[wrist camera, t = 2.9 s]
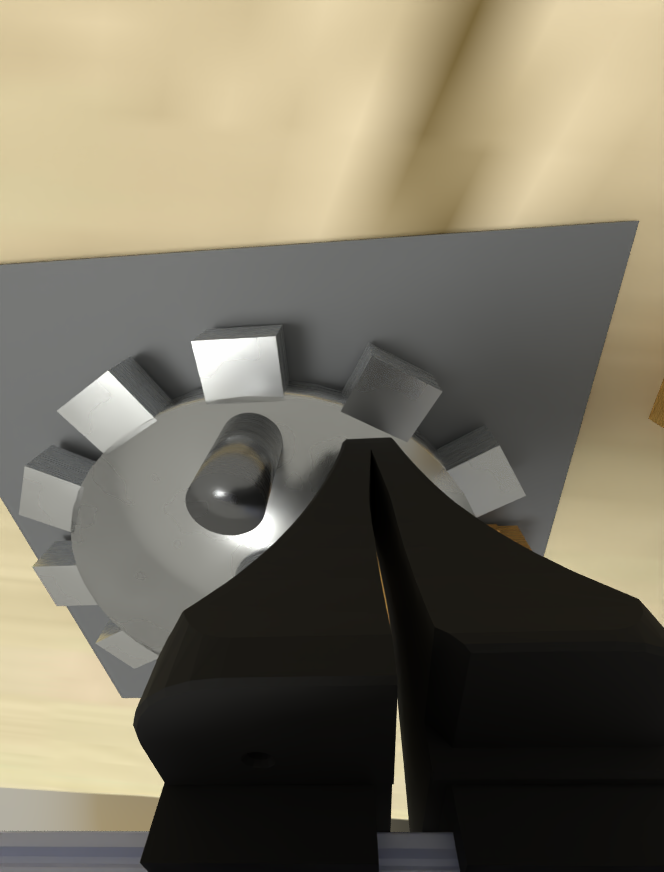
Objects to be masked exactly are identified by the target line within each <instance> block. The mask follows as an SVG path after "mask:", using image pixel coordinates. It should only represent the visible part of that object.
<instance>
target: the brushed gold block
mask: <svg viewBox="0 0 664 872" xmlns="http://www.w3.org/2000/svg"><path fill="white" fill-rule="evenodd" d="M649 419H650V420H652V421H653V422H655V423H657V424H658V425H660V426H661V427H663V428H664V379H663V382H662V384H661V387H660V390H659V392H658V395H657V398H656V400H655V403H654V406H653V408H652V411H651V413H650V416H649Z"/></svg>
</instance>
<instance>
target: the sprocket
mask: <svg viewBox="0 0 664 872" xmlns="http://www.w3.org/2000/svg"><path fill="white" fill-rule="evenodd" d="M191 343H192V347H193V351H194V355H195V359H196V363H197V367H198V372H199V376H200V380H201V384H202V389H198V390H194V391H191V392H189V393H187V394H184V395H182V396H179V397H177V398H174V399H171V398H170V397H169V396H168V395H167V394H166V393H165V392H164V391H163V390H162V389H161V388H160V387H159V385H158V384H157V383H156V382H155V381H154V380H153V379H152V378H151V377H150V376H149V375H148V374H147V373H146V372H145V370H144V369H143V368H142V367H141V366H140V365H139V364H138V363H137V362H136V361H135V360H134V359H133V358H132V357H131V356H130V357H129V358H127V359H126V360H124V361H122V362H121V363H119V364H118V365H116V366H114V367H113V368H111V369H110V370H108V371H107V372H106V373H104V374H103V375H102V376H100V377H99V378H98V379H97V380H95V381H94V382H93V383H92V384H90V385H89V386H88V387H86V388H85V389H84V390H83V391H81V392H80V393H79V394H78V395H76V396H75V397H74V398H72V399H71V400H70V401H69V402H67V403H66V404H65V405H64V406H62V407H61V408H60V409H58V410H57V412H58V413H59V414H60V415H62V416H63V417H64V418H65V419H66V420H67V421H68V422H69V423H70V424H72V425H73V426H74V427H75V428H76V429H77V430H78V431H79V432H80V433H81V434H83V435H84V436H85V437H86V438H87V439H88V440H89V441H90V442H91V443H92V444H94V445H95V446H96V447H97V448H98V449H99V450H100V451H101V452H102V453H103V454H102V455H101V457H100V458H99V459H98V460H97V461H94V460H91V459H89V458H86V457H83V456H81V455H78V454H75V453H73V452H70V451H67V450H65V449H62V448H59V447H57V446H54V445H51V446H50V447H49V448H47V449H46V450H45V451H43V452H42V453H41V454H40V455H38V456H37V457H36V458H34V459H33V460H32V461H30V462H29V463H28V464H27V465H25V467H24V476H23V484H22V492H21V501H20V509H19V515H21V516H24V517H27V518H30V519H33V520H36V521H39V522H42V523H45V524H48V525H51V526H54V527H57V528H60V529H63V530H66V531H69V532H71V541H55V542H54V543H53V544H52V545H51V546H50V547H49V549H48V550H47V551H46V552H45V553H44V554H43V555H42V556H41V558H40V559H39V560H38V561H37V562H36V563H35V564H34V565H33V566H32V567H33V569H34V570H35V572H36V574H37V575H38V577H39V578H40V580H41V582H42V583H43V585H44V586H45V588H46V590H47V591H48V593H49V594H50V596H51V598H52V599H53V601H54V602H55V604H56V606H78V605H99V607H100V608H101V609H102V610H103V611H104V612H105V614H106V615H107V616H108V617H109V618H110V619H109V621H108V622H107V624H106V626H105V628H104V629H103V631H102V633H101V634H100V636H99V638H98V640H97V641H96V643H95V644H97V645H98V646H100V647H101V648H103V649H105V650H106V651H108V652H109V653H111V654H112V655H114V656H115V657H117V658H118V659H120V660H122V661H123V662H125V663H126V664H128V665H129V666H131V667H132V668H134V669H135V668H137V667H140V666H142V665H144V664H147V663H149V662H151V661H153V660H156V659H158V657H159V654H160V652H161V650H162V648H163V646H164V645H165V643H166V641H167V639H168V637H169V635H170V634H171V632H172V630H173V628H174V627H175V625H176V623H177V621H178V619H179V617H180V615H181V613H182V612H183V611H184V610H185V609H187V608H189V607H190V606H192V605H193V604H195V603H196V602H198V601H199V600H201V599H202V598H204V597H205V596H207V595H208V594H210V593H211V592H213V591H214V590H216V589H217V588H219V587H220V586H222V585H223V584H225V583H226V582H228V581H229V580H230V579H232V578H233V577H234V576H236V575H237V574H238V573H240V572H241V571H242V570H243V569H245V568H246V567H247V566H248V565H249V564H251V563H252V562H253V561H254V560H255V559H257V558H258V557H259V556H260V555H261V554H263V553H264V552H265V551H266V550H267V549H268V548H269V547H270V546H271V545H272V544H274V543H275V542H276V541H277V540H278V539H279V537H280V536H281V535H282V534H283V533H284V532H285V531H286V530H287V529H288V528H289V527H290V526H291V525H292V524H293V523H294V522H295V520H296V519H297V518H298V517H299V516H300V515H301V513H302V512H303V511H304V510H305V508H306V507H307V506H308V505H309V503H310V502H311V501H312V499H313V498H314V496H315V495H316V493H317V492H318V490H319V489H320V487H321V486H322V484H323V483H324V481H325V479H326V478H327V476H328V474H329V472H330V471H331V469H332V467H333V465H334V463H335V461H336V459H337V457H338V454H339V452H340V449H341V446H342V443H343V442H344V441H345V440H346V439H362V438H385V437H391V438H392V439H393V440H394V441H395V442H396V443H397V444H398V445H399V447H400V448H401V449H402V450H403V452H404V453H405V454H406V455H407V456H408V457H409V458H410V460H411V461H412V462H413V463H414V464H415V465H416V466H417V467H418V468H419V469H420V470H421V471H422V472H423V473H424V474H425V475H426V476H427V477H428V478H429V479H430V480H431V481H432V482H433V483H434V484H435V485H436V486H437V487H438V488H439V489H440V490H441V491H443V492H444V493H445V494H446V495H447V496H448V497H450V498H451V499H452V500H453V501H455V502H456V503H457V504H458V505H460V506H461V507H463V508H464V509H465V510H467V511H468V512H469V513H471V514H472V515H474V516H475V517H476V518H477V517H479V516H481V515H484V514H486V513H488V512H490V511H493V510H495V509H497V508H499V507H502V506H504V505H506V504H508V503H511V502H513V501H515V500H517V499H520V498H522V497H524V496H526V495H525V493H524V491H523V489H522V487H521V485H520V483H519V481H518V479H517V477H516V476H515V474H514V472H513V470H512V468H511V466H510V464H509V462H508V460H507V458H506V456H505V455H504V453H503V451H502V449H501V447H500V445H499V444H498V442H497V441H496V440H495V438H494V437H493V435H492V434H491V433H490V431H489V430H488V428H487V427H486V426H485V425H484V426H482V427H480V428H478V429H476V430H474V431H472V432H470V433H468V434H466V435H464V436H462V437H460V438H458V439H456V440H454V441H452V442H450V443H448V444H447V445H445V446H443V447H441V448H439V449H436V448H435V447H434V446H433V445H432V444H431V443H430V442H429V440H428V439H427V438H426V437H425V436H424V435H423V434H421V433H420V432H419V431H417V430H416V429H417V428H418V426H419V425H420V423H421V422H422V421H423V419H424V418H425V416H426V415H427V413H428V412H429V410H430V409H431V408H432V406H433V405H434V403H435V402H436V400H437V399H438V397H439V396H440V395H441V393H442V390H441V388H440V387H439V385H438V383H437V382H436V380H435V378H434V377H433V375H431V374H429V373H427V372H426V371H424V370H422V369H420V368H418V367H416V366H414V365H412V364H410V363H408V362H406V361H404V360H402V359H400V358H398V357H396V356H394V355H392V354H390V353H388V352H386V351H384V350H382V349H380V348H378V347H376V346H374V345H373V344H371V343H368V345H367V347H366V348H365V350H364V352H363V354H362V356H361V357H360V359H359V361H358V363H357V365H356V367H355V368H354V370H353V372H352V374H351V376H350V377H349V379H348V381H347V383H346V385H345V387H344V388H343V390H342V391H341V390H337V389H333V388H329V387H325V386H322V385H318V384H312V383H304V382H297V381H289V375H288V367H287V358H286V350H285V342H284V334H283V326H282V325H268V326H251V327H234V328H217V329H206V330H205V331H204V332H202V333H201V334H200V335H199V336H197V337H196V338H195V339H193V340H192V341H191ZM487 525H488V526H490V527H491V528H493V529H495V530H496V531H498V532H500V533H501V534H503V535H505V536H506V537H508V538H510V539H511V540H513V541H515V542H517V543H518V544H520V545H522V546H524V547H526V548H528V549H529V550H531V548H530V546H529V545H528V543H527V541H526V540H525V538H524V536H523V534H522V533H521V531H520V529H519V528H518V526H517V525H515V526H497V524H487ZM531 551H532V550H531ZM377 559H378V557H377ZM378 565H379V562H378ZM379 571H380V567H379ZM380 577H381V572H380ZM381 582H382V577H381ZM382 587H383V582H382ZM383 593H384V598H385V603H386V608H387V602H386V597H385V592H384V587H383ZM387 613H388V608H387ZM388 618H389V614H388ZM389 623H390V621H389Z"/></svg>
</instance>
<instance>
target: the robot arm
mask: <svg viewBox="0 0 664 872" xmlns="http://www.w3.org/2000/svg"><path fill="white" fill-rule="evenodd" d="M377 557H378V559H377ZM378 562H379V565H378ZM379 567H380V571H379ZM380 572H381V577H382V582H383V587H384V592H385V597H386V602H387V608H388V613H387V608H386V603H385V598H384V593H383V587H382V582H381V577H380ZM388 614H389V618H388ZM389 621H390V623H389ZM397 699H398V709H399V719H400V730H401V740H402V751H403V761H404V772H405V783H406V794H407V805H408V816H409V828H410V832H390V826H391V799H392V784H394V764H395V740H396V716H397ZM133 726H134V728H135V731H136V734H137V737H138V739H139V742H140V744H141V746H142V747H143V749H144V750H145V752H146V754H147V755H148V757H149V758H150V760H151V762H152V763H153V765H154V766H155V768H156V770H157V771H158V773H159V774H160V776H161V777H162V779H163V781H164V782H165V783H164V786H163V790H162V793H161V796H160V799H159V802H158V806H157V809H156V812H155V815H154V819H153V821H152V825H151V828H150V831H148V832H147V831H146V832H145V831H144V832H143V831H0V872H664V628H663V626H662V625H661V624H660V623H659V622H658V621H657V619H656V618H655V617H654V616H653V615H652V614H651V612H650V611H649V610H648V609H647V608H646V607H645V606H644V605H643V603H642V602H641V601H640V600H639V599H637V598H635V597H632V596H630V595H628V594H625V593H623V592H621V591H618V590H616V589H614V588H611V587H609V586H606V585H604V584H602V583H599V582H597V581H595V580H592V579H590V578H587V577H585V576H583V575H580V574H578V573H576V572H573V571H571V570H569V569H567V568H565V567H563V566H561V565H559V564H557V563H555V562H553V561H551V560H549V559H547V558H545V557H543V556H541V555H539V554H537V553H535V552H533V551H531V550H529V549H528V548H526V547H524V546H522V545H520V544H518V543H517V542H515V541H513V540H511V539H510V538H508V537H506V536H505V535H503V534H501V533H500V532H498V531H496V530H495V529H493V528H491V527H490V526H488V525H487V524H485V523H484V522H482V521H481V520H479V519H478V518H476V517H475V516H474V515H472V514H471V513H469V512H468V511H467V510H465V509H464V508H463V507H461V506H460V505H458V504H457V503H456V502H455V501H453V500H452V499H451V498H450V497H448V496H447V495H446V494H445V493H444V492H443V491H441V490H440V489H439V488H438V487H437V486H436V485H435V484H434V483H433V482H432V481H431V480H430V479H429V478H428V477H427V476H426V475H425V474H424V473H423V472H422V471H421V470H420V469H419V468H418V467H417V466H416V465H415V464H414V463H413V462H412V461H411V460H410V458H409V457H408V456H407V455H406V454H405V453H404V452H403V450H402V449H401V448H400V447H399V445H398V444H397V443H396V442H395V441H394V440H393V439H392V438H391V437H385V438H362V439H346V440H345V441H344V442H343V443H342V446H341V449H340V452H339V454H338V457H337V459H336V461H335V463H334V465H333V467H332V469H331V471H330V472H329V474H328V476H327V478H326V479H325V481H324V483H323V484H322V486H321V487H320V489H319V490H318V492H317V493H316V495H315V496H314V498H313V499H312V501H311V502H310V503H309V505H308V506H307V507H306V508H305V510H304V511H303V512H302V513H301V515H300V516H299V517H298V518H297V519H296V520H295V522H294V523H293V524H292V525H291V526H290V527H289V528H288V529H287V530H286V531H285V532H284V533H283V534H282V535H281V536H280V537H279V539H278V540H277V541H276V542H275V543H274V544H272V545H271V546H270V547H269V548H268V549H267V550H266V551H265V552H264V553H263V554H261V555H260V556H259V557H258V558H257V559H255V560H254V561H253V562H252V563H251V564H249V565H248V566H247V567H246V568H245V569H243V570H242V571H241V572H240V573H238V574H237V575H236V576H234V577H233V578H232V579H230V580H229V581H228V582H226V583H225V584H223V585H222V586H220V587H219V588H217V589H216V590H214V591H213V592H211V593H210V594H208V595H207V596H205V597H204V598H202V599H201V600H199V601H198V602H196V603H195V604H193V605H192V606H190V607H189V608H187V609H185V610H184V611H183V612H182V613H181V615H180V617H179V619H178V621H177V623H176V625H175V627H174V628H173V630H172V632H171V634H170V635H169V637H168V639H167V641H166V643H165V645H164V646H163V648H162V650H161V652H160V654H159V657H158V659H157V661H156V664H155V666H154V668H153V671H152V673H151V676H150V678H149V680H148V683H147V685H146V687H145V690H144V692H143V695H142V697H141V699H140V702H139V704H138V707H137V709H136V712H135V717H134V723H133Z"/></svg>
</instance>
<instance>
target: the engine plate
mask: <svg viewBox="0 0 664 872" xmlns="http://www.w3.org/2000/svg"><path fill="white" fill-rule="evenodd" d="M638 223H639V221H620V222H606V223H591V224H577V225H562V226H548V227H533V228H519V229H505V230H490V231H476V232H461V233H447V234H432V235H418V236H403V237H389V238H375V239H360V240H346V241H331V242H317V243H302V244H288V245H274V246H259V247H245V248H230V249H216V250H201V251H187V252H172V253H158V254H144V255H129V256H115V257H100V258H86V259H71V260H57V261H42V262H28V263H14V264H0V497H1V499H2V501H3V502H4V504H5V506H6V507H7V509H8V511H9V512H10V514H11V516H12V517H13V519H14V520H15V522H16V524H17V525H18V527H19V529H20V530H21V532H22V534H23V535H24V537H25V539H26V540H27V542H28V544H29V545H30V547H31V549H32V550H33V552H34V553H35V555H36V557H37V558H38V560H39V559H40V558H41V556H42V555H43V554H44V553H45V552H46V551H47V550H48V549H49V547H50V546H51V545H52V544H53V543H54V542H55V541H71V532H69V531H66V530H63V529H60V528H57V527H54V526H51V525H48V524H45V523H42V522H39V521H36V520H33V519H30V518H27V517H24V516H21V515H19V509H20V501H21V492H22V484H23V476H24V467H25V465H27V464H28V463H29V462H30V461H32V460H33V459H34V458H36V457H37V456H38V455H40V454H41V453H42V452H43V451H45V450H46V449H47V448H49V447H50V446H51V445H54V446H57V447H59V448H62V449H65V450H67V451H70V452H73V453H75V454H78V455H81V456H83V457H86V458H89V459H91V460H94V461H97V460H98V459H99V458H100V457H101V455H102V454H103V453H102V452H101V451H100V450H99V449H98V448H97V447H96V446H95V445H94V444H92V443H91V442H90V441H89V440H88V439H87V438H86V437H85V436H84V435H83V434H81V433H80V432H79V431H78V430H77V429H76V428H75V427H74V426H73V425H72V424H70V423H69V422H68V421H67V420H66V419H65V418H64V417H63V416H62V415H60V414H59V413H58V412H57V410H58V409H60V408H61V407H62V406H64V405H65V404H66V403H67V402H69V401H70V400H71V399H72V398H74V397H75V396H76V395H78V394H79V393H80V392H81V391H83V390H84V389H85V388H86V387H88V386H89V385H90V384H92V383H93V382H94V381H95V380H97V379H98V378H99V377H100V376H102V375H103V374H104V373H106V372H107V371H108V370H110V369H111V368H113V367H114V366H116V365H118V364H119V363H121V362H122V361H124V360H126V359H127V358H129V357H130V356H131V357H132V358H133V359H134V360H135V361H136V362H137V363H138V364H139V365H140V366H141V367H142V368H143V369H144V370H145V372H146V373H147V374H148V375H149V376H150V377H151V378H152V379H153V380H154V381H155V382H156V383H157V384H158V385H159V387H160V388H161V389H162V390H163V391H164V392H165V393H166V394H167V395H168V396H169V397H170V398H171V399H174V398H177V397H179V396H182V395H184V394H187V393H189V392H191V391H194V390H198V389H202V384H201V380H200V376H199V372H198V367H197V363H196V359H195V355H194V351H193V347H192V343H191V341H192V340H193V339H195V338H196V337H197V336H199V335H200V334H201V333H202V332H204V331H205V330H206V329H217V328H234V327H251V326H268V325H282V326H283V334H284V342H285V350H286V358H287V367H288V375H289V381H297V382H304V383H312V384H318V385H322V386H325V387H329V388H333V389H337V390H341V391H342V390H343V388H344V387H345V385H346V383H347V381H348V379H349V377H350V376H351V374H352V372H353V370H354V368H355V367H356V365H357V363H358V361H359V359H360V357H361V356H362V354H363V352H364V350H365V348H366V347H367V345H368V343H371V344H373V345H374V346H376V347H378V348H380V349H382V350H384V351H386V352H388V353H390V354H392V355H394V356H396V357H398V358H400V359H402V360H404V361H406V362H408V363H410V364H412V365H414V366H416V367H418V368H420V369H422V370H424V371H426V372H427V373H429V374H431V375H433V377H434V378H435V380H436V382H437V383H438V385H439V387H440V388H441V390H442V393H441V395H440V396H439V397H438V399H437V400H436V402H435V403H434V405H433V406H432V408H431V409H430V410H429V412H428V413H427V415H426V416H425V418H424V419H423V421H422V422H421V423H420V425H419V426H418V428H417V429H416V430H417V431H419V432H420V433H421V434H423V435H424V436H425V437H426V438H427V439H428V440H429V442H430V443H431V444H432V445H433V446H434V447H435V448H436V449H439V448H441V447H443V446H445V445H447V444H448V443H450V442H452V441H454V440H456V439H458V438H460V437H462V436H464V435H466V434H468V433H470V432H472V431H474V430H476V429H478V428H480V427H482V426H484V425H485V426H486V427H487V428H488V430H489V431H490V433H491V434H492V435H493V437H494V438H495V440H496V441H497V442H498V444H499V445H500V447H501V449H502V451H503V453H504V455H505V456H506V458H507V460H508V462H509V464H510V466H511V468H512V470H513V472H514V474H515V476H516V477H517V479H518V481H519V483H520V485H521V487H522V489H523V491H524V493H525V495H526V496H524V497H522V498H520V499H517V500H515V501H513V502H511V503H508V504H506V505H504V506H502V507H499V508H497V509H495V510H493V511H490V512H488V513H486V514H484V515H481V516H479V517H477V518H478V519H479V520H481V521H482V522H484V523H485V524H497V526H515V525H517V526H518V528H519V529H520V531H521V533H522V534H523V536H524V538H525V540H526V541H527V543H528V545H529V546H530V548H531V550H532V551H533V552H535V553H537V554H539V555H541V556H544V553H545V549H546V546H547V542H548V539H549V535H550V532H551V528H552V525H553V521H554V518H555V514H556V511H557V507H558V504H559V500H560V497H561V493H562V490H563V486H564V483H565V479H566V476H567V472H568V469H569V465H570V462H571V458H572V455H573V451H574V448H575V444H576V441H577V437H578V434H579V430H580V427H581V423H582V420H583V416H584V413H585V409H586V406H587V402H588V398H589V395H590V391H591V388H592V384H593V381H594V377H595V374H596V370H597V367H598V363H599V360H600V356H601V353H602V349H603V346H604V342H605V339H606V335H607V332H608V328H609V325H610V321H611V318H612V314H613V311H614V307H615V304H616V300H617V297H618V293H619V290H620V286H621V283H622V279H623V276H624V272H625V269H626V265H627V262H628V258H629V255H630V251H631V248H632V244H633V241H634V237H635V234H636V230H637V227H638ZM67 608H68V610H69V611H70V613H71V614H72V616H73V618H74V619H75V621H76V623H77V624H78V626H79V628H80V629H81V631H82V633H83V634H84V636H85V638H86V639H87V641H88V643H89V644H90V646H91V647H92V649H93V651H94V652H95V654H96V656H97V657H98V659H99V661H100V662H101V664H102V666H103V667H104V669H105V671H106V672H107V674H108V676H109V677H110V679H111V680H112V682H113V684H114V685H115V687H116V689H117V690H118V692H119V694H120V695H121V697H122V698H141V697H142V695H143V692H144V690H145V687H146V685H147V683H148V680H149V678H150V676H151V673H152V671H153V668H154V666H155V664H156V661H157V659H156V660H153V661H151V662H149V663H147V664H144V665H142V666H140V667H137V668H135V669H134V668H132V667H131V666H129V665H128V664H126V663H125V662H123V661H122V660H120V659H118V658H117V657H115V656H114V655H112V654H111V653H109V652H108V651H106V650H105V649H103V648H101V647H100V646H98V645H97V644H95V643H96V641H97V640H98V638H99V636H100V634H101V633H102V631H103V629H104V628H105V626H106V624H107V622H108V621H109V619H110V618H109V617H108V616H107V615H106V614H105V612H104V611H103V610H102V609H101V608H100V607H99V605H78V606H67Z"/></svg>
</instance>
